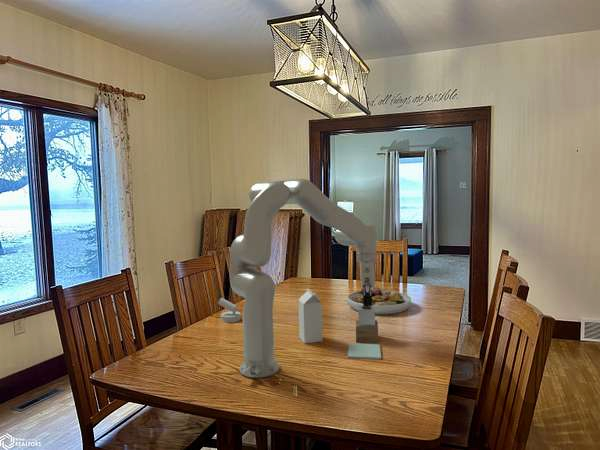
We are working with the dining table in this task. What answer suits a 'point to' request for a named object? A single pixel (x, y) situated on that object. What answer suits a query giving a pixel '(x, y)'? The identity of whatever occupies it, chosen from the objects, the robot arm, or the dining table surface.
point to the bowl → (381, 301)
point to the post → (367, 332)
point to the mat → (364, 351)
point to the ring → (366, 316)
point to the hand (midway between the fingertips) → (367, 302)
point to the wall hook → (232, 314)
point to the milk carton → (310, 318)
